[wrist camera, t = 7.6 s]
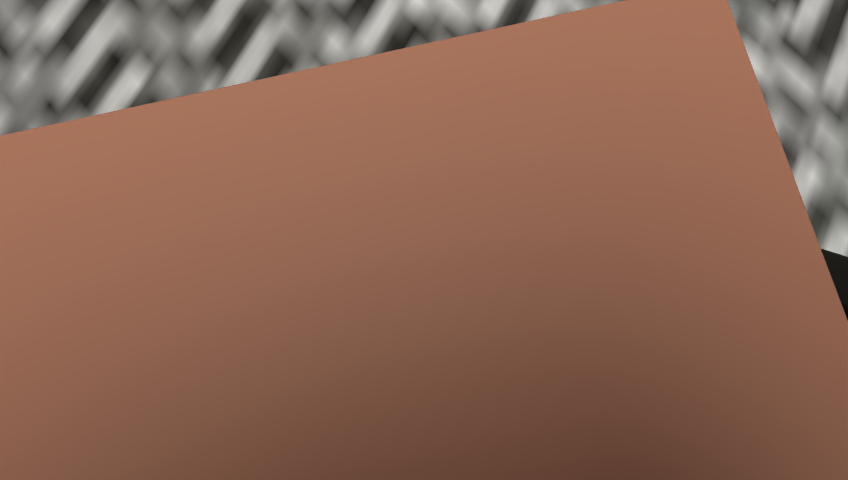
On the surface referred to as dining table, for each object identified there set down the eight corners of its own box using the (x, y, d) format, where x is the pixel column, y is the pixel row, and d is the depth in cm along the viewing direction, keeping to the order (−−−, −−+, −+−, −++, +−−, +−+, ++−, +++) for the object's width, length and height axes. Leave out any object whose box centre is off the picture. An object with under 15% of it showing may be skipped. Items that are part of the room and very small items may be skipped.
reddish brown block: (543, 484, 16) (1059, 882, 3) (339, 538, 16) (14, 1217, 3) (490, 283, 17) (718, -20, 4) (296, 330, 17) (-86, 154, 4)
